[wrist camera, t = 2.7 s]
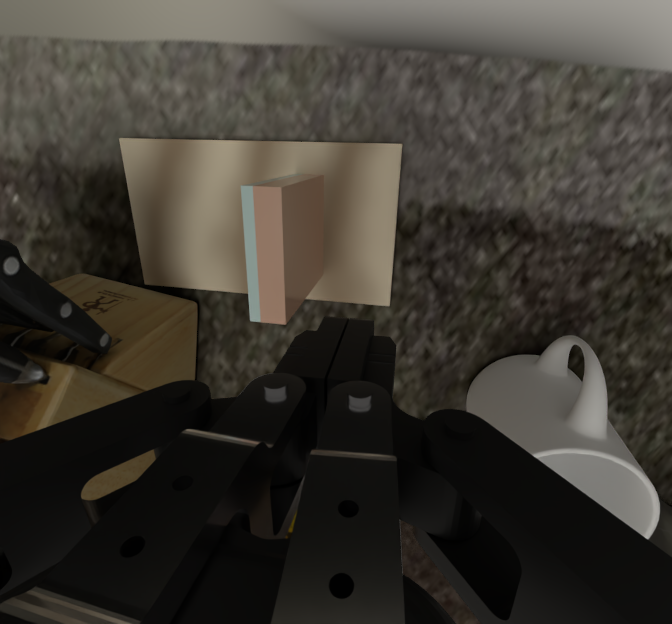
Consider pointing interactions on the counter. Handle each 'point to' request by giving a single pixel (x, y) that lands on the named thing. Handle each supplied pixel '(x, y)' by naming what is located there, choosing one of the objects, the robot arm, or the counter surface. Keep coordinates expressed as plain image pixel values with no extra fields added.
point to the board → (227, 217)
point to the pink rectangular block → (282, 243)
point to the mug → (566, 427)
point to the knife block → (85, 352)
